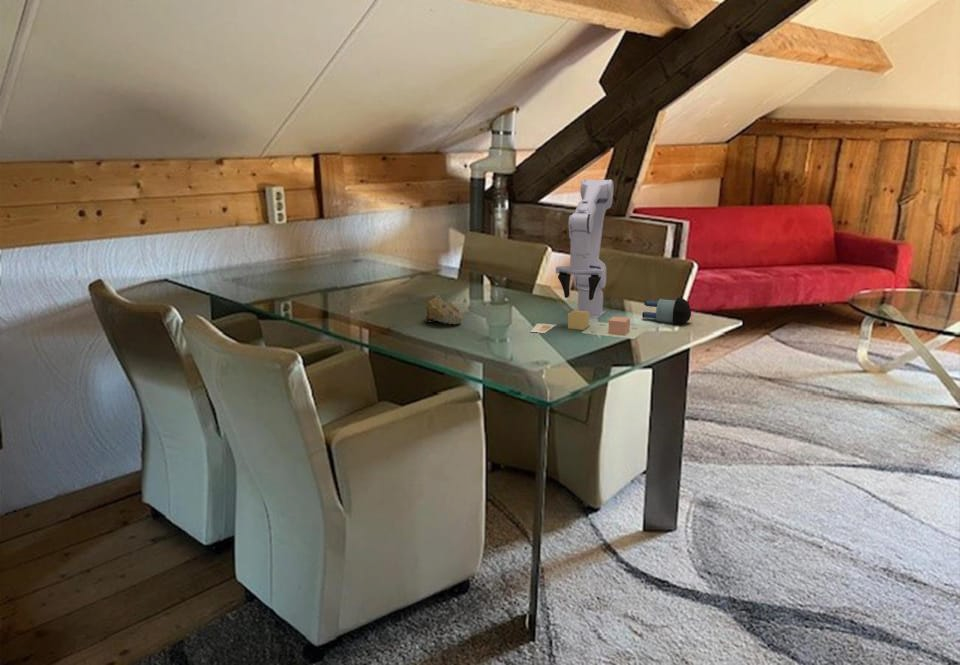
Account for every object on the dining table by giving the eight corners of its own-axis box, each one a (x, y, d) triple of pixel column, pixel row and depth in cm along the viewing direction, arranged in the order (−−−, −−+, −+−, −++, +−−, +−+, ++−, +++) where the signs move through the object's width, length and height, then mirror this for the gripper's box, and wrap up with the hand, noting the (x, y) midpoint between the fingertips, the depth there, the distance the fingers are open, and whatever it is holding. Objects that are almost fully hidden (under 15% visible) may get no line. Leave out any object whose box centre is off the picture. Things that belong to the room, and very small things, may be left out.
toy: (643, 325, 235) (690, 330, 228) (636, 315, 228) (684, 320, 220) (648, 301, 237) (695, 306, 230) (642, 290, 230) (690, 294, 223)
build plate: (595, 323, 231) (596, 321, 230) (646, 328, 224) (646, 326, 224) (581, 334, 219) (581, 332, 218) (634, 340, 212) (634, 338, 212)
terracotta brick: (613, 329, 222) (613, 316, 221) (629, 331, 220) (630, 318, 218) (608, 333, 217) (608, 320, 216) (624, 335, 215) (625, 322, 214)
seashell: (444, 334, 225) (446, 303, 222) (414, 321, 235) (416, 291, 232) (471, 328, 233) (473, 297, 229) (441, 316, 242) (443, 286, 239)
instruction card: (537, 324, 230) (537, 323, 230) (559, 325, 228) (559, 324, 228) (530, 332, 221) (530, 331, 221) (553, 334, 219) (553, 333, 219)
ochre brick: (573, 325, 228) (573, 310, 227) (588, 327, 226) (589, 311, 225) (567, 329, 224) (568, 313, 223) (583, 331, 222) (583, 315, 221)
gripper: (552, 254, 219) (551, 298, 222) (599, 257, 212) (597, 303, 216) (560, 250, 225) (560, 294, 228) (606, 253, 218) (605, 298, 222)
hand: (578, 298), depth 223 cm, fingers open, 7 cm apart
